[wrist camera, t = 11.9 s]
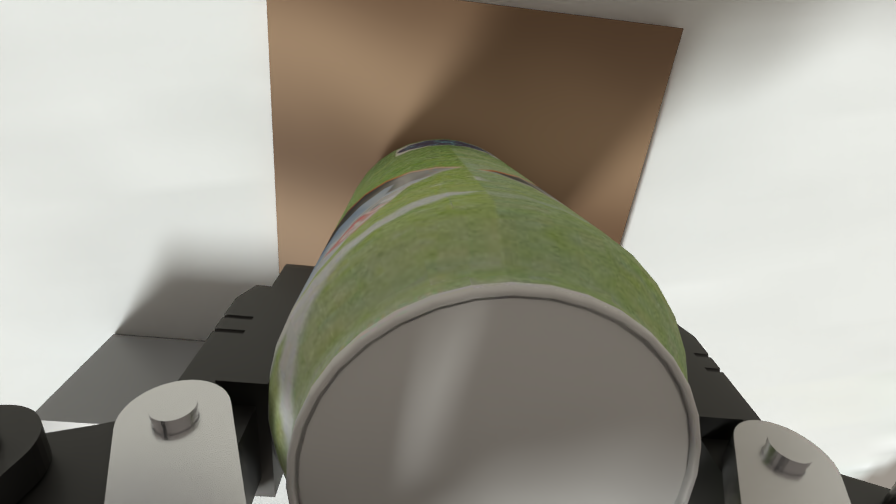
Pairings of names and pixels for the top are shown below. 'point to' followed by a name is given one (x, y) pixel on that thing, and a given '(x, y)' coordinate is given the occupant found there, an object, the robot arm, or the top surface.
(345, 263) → the beverage can
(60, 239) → the top surface
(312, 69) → the pad
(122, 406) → the bin
